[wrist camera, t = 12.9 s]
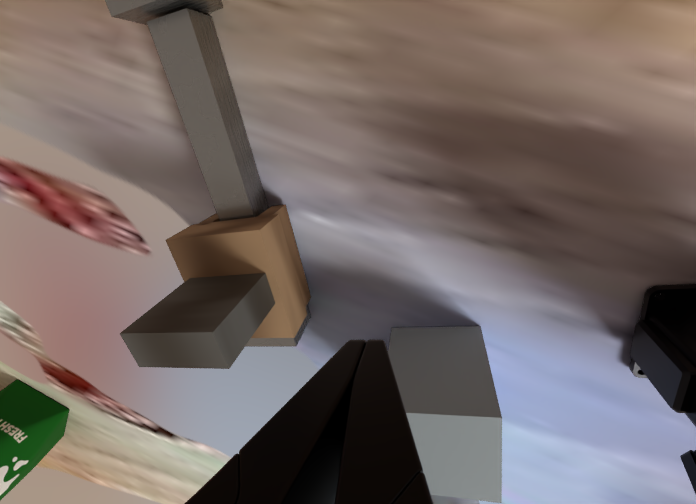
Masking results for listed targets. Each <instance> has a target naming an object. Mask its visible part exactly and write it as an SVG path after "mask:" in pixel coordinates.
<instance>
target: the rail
mask: <svg viewBox="0 0 696 504" xmlns="http://www.w3.org/2000/svg"><path fill="white" fill-rule="evenodd" d="M105 2H106V4H107V7H108V9H109V12H110V14H111V17H116V18H120V19H124V20H128V21H132V22H137V23H141V24H145V25H148V27H149V30H150V33H151V35H152V38H153V41H154V43H155V46H156V49H157V52H158V54H159V57H160V60H161V62H162V65H163V68H164V71H165V73H166V76H167V79H168V81H169V84H170V87H171V90H172V92H173V95H174V98H175V100H176V103H177V106H178V109H179V111H180V114H181V117H182V119H183V122H184V125H185V128H186V130H187V133H188V136H189V139H190V141H191V144H192V147H193V149H194V152H195V155H196V158H197V160H198V163H199V166H200V168H201V171H202V174H203V177H204V179H205V182H206V185H207V187H208V190H209V193H210V196H211V198H212V201H213V204H214V206H215V209H216V212H217V215H218V217H219V220H220V221H227V220H235V219H244V218H252V217H258V216H259V215H260V214H262V213H263V212H264V211H266V210H267V209H268V205H267V201H266V198H265V195H264V191H263V188H262V185H261V181H260V178H259V174H258V171H257V168H256V164H255V161H254V158H253V154H252V151H251V148H250V144H249V141H248V138H247V134H246V131H245V128H244V124H243V121H242V118H241V114H240V111H239V108H238V104H237V101H236V98H235V94H234V91H233V87H232V84H231V81H230V77H229V74H228V71H227V67H226V64H225V61H224V57H223V54H222V51H221V47H220V44H219V41H218V37H217V34H216V31H215V27H214V24H213V21H212V17H211V16H208V15H205V14H206V13H209V12H212V11H215V10H218V9H221V8H223V6H222V2H221V0H105ZM306 311H307V315H306V317H305V319H304V321H303V323H302V325H301V326H300V328H299V330H298V332H297V334H296V336H295V338H250V340H249V341H248V343H247V344H246V346H297V344H298V342H299V340H300V338H301V336H302V334H303V332H304V330H305V328H306V326H307V324H308V322H309V320H310V318H311V316H310V312H309V309H308V305H306Z"/></svg>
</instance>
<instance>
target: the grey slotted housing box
mask: <svg viewBox="0 0 696 504" xmlns="http://www.w3.org/2000/svg"><path fill="white" fill-rule="evenodd" d="M388 354H389V357H390V361H391V364H392V367H393V371H394V374H395V377H396V381H397V384H398V387H399V391H400V394H401V397H402V401H403V404H404V407H405V411H406V414H407V418H408V421H409V424H410V428H411V431H412V434H413V438H414V441H415V444H416V448H417V451H418V454H419V458H420V461H421V464H422V468H423V473H424V474H425V477H426V480H427V484H428V487H429V490H430V494H431V495H438V496H447V497H455V498H464V499H472V500H480V501H489V502H497V503H501V484H502V417H501V412H500V408H499V404H498V399H497V395H496V391H495V387H494V382H493V378H492V374H491V369H490V365H489V361H488V357H487V352H486V348H485V344H484V339H483V335H482V331H481V326H460V327H400V328H391V335H390V342H389V349H388Z"/></svg>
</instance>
